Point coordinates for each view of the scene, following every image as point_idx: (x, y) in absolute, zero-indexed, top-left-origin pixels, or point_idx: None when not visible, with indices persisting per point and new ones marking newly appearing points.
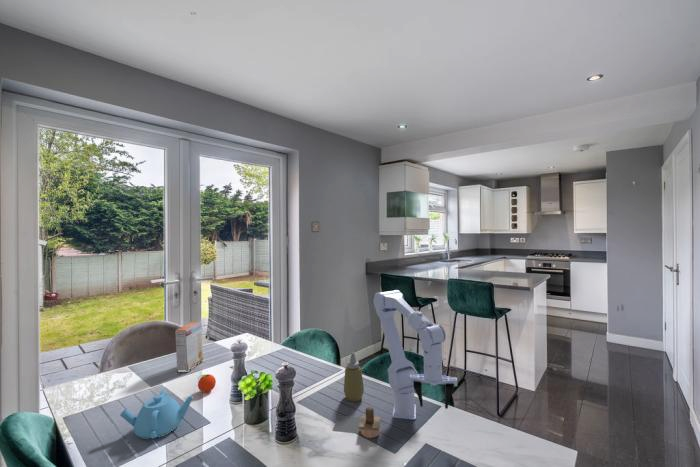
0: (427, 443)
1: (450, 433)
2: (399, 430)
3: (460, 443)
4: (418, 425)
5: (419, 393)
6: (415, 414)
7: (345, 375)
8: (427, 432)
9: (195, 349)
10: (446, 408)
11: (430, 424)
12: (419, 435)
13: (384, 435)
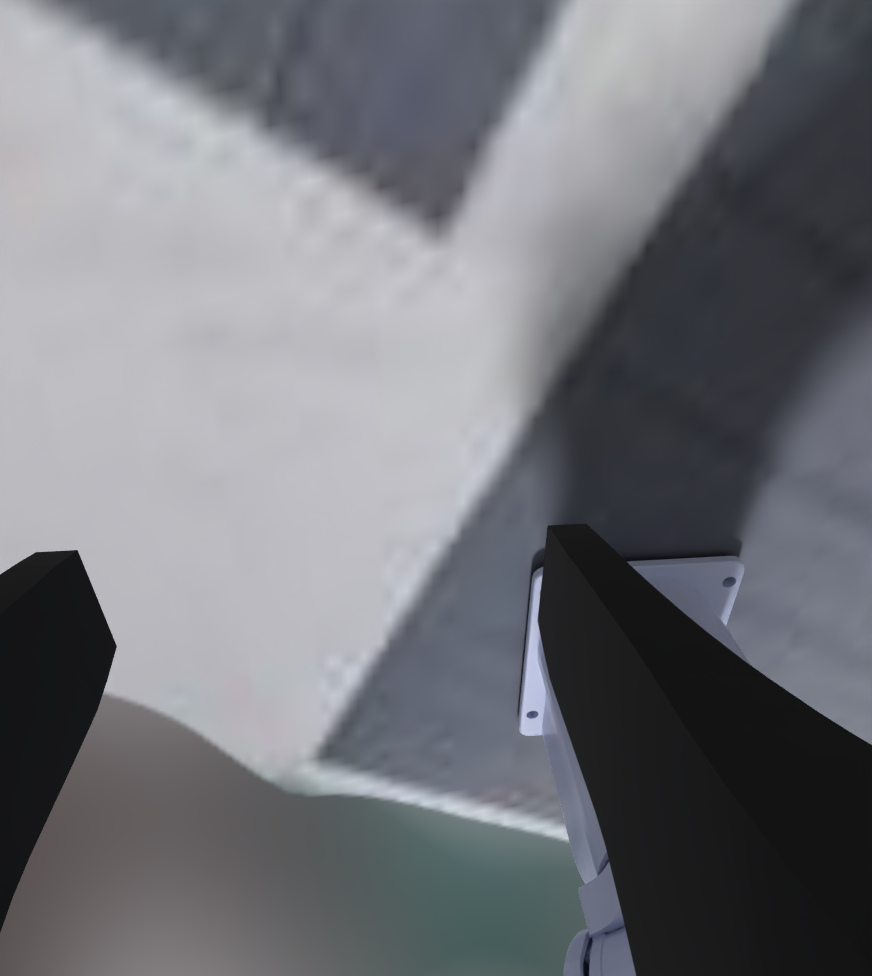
0: (425, 228)
1: (193, 448)
2: (706, 394)
3: (60, 304)
4: (509, 503)
5: (785, 757)
6: (531, 625)
7: None
8: (424, 418)
9: None
10: (51, 553)
11: (396, 537)
12: (508, 354)
13: None
